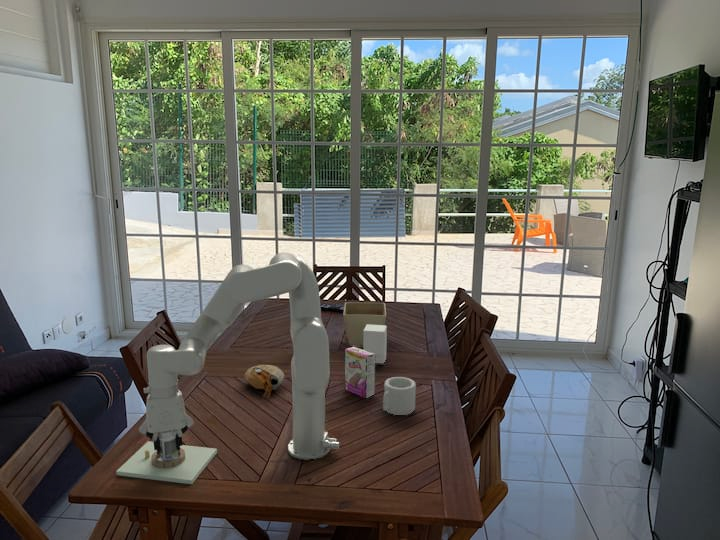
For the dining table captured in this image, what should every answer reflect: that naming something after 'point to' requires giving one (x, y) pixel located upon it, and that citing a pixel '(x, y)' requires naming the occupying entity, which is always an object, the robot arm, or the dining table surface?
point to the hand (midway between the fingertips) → (168, 449)
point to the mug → (399, 396)
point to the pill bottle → (168, 445)
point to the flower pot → (362, 319)
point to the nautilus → (264, 377)
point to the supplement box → (375, 341)
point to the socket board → (168, 464)
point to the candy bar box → (360, 371)
